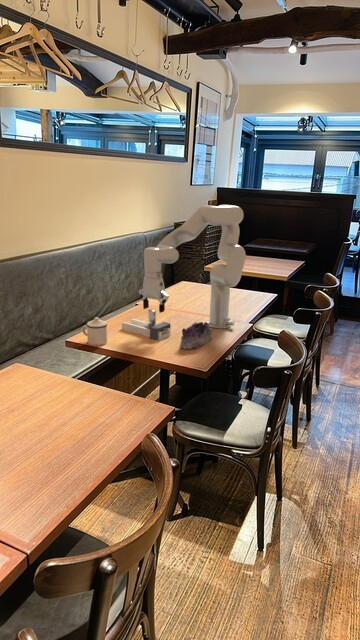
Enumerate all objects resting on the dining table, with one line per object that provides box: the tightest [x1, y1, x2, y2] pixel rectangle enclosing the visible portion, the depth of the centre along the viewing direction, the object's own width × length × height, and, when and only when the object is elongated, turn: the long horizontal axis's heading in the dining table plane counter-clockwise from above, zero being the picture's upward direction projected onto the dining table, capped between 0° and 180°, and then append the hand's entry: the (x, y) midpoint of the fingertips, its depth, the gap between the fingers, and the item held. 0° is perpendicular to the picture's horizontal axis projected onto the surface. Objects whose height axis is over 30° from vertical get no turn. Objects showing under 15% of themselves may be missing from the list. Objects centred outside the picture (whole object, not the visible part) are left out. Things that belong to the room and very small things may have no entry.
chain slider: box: [144, 308, 165, 333], centre depth 214 cm, size 10×5×10 cm, turn 54°
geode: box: [179, 321, 213, 351], centre depth 205 cm, size 20×12×10 cm, turn 153°
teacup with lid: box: [81, 316, 108, 346], centre depth 203 cm, size 12×9×12 cm
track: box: [121, 318, 171, 341], centre depth 218 cm, size 24×10×6 cm, turn 54°
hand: (153, 310), depth 213 cm, fingers open, 9 cm apart
